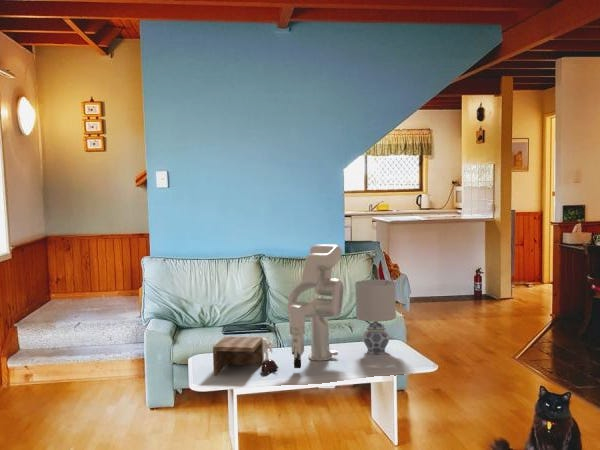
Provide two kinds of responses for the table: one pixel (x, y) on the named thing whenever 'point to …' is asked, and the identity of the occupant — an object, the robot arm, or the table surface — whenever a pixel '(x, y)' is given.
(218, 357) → the open wooden box
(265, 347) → the cream tall piece
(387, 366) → the table surface
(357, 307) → the lamp
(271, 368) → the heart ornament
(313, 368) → the table surface
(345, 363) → the table surface
